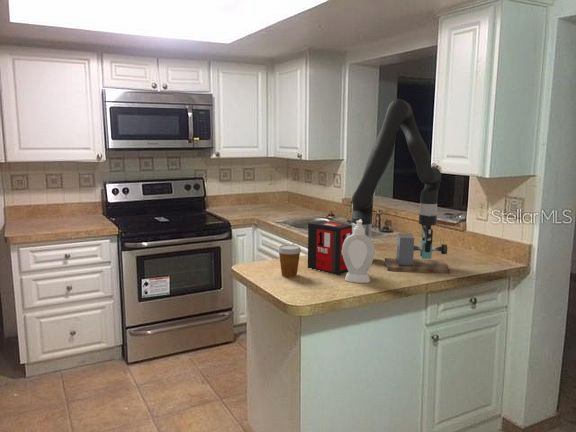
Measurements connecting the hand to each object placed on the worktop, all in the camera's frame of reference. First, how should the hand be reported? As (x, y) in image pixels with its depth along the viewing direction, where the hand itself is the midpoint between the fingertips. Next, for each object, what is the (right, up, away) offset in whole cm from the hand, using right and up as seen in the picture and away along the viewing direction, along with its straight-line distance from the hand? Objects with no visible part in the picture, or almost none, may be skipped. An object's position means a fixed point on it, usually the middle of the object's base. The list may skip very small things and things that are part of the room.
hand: (425, 249), depth 211 cm
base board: (-4, -8, +2) cm, 9 cm away
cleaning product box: (-43, -9, -4) cm, 44 cm away
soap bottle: (-33, -11, -19) cm, 39 cm away
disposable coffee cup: (-60, -10, -12) cm, 62 cm away
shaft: (+1, -2, 0) cm, 2 cm away
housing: (-9, -6, +2) cm, 11 cm away
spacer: (0, -3, 0) cm, 3 cm away
